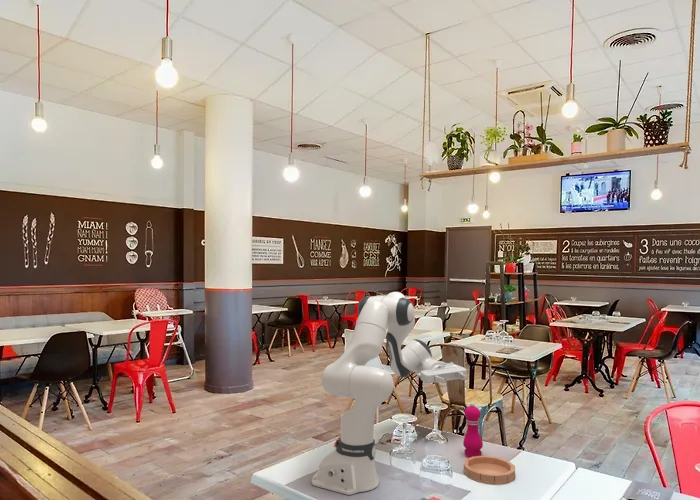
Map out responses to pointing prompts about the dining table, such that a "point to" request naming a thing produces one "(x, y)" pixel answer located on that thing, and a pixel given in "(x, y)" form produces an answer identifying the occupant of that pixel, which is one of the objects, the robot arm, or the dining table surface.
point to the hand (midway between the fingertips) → (454, 379)
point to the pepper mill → (472, 432)
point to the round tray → (489, 469)
